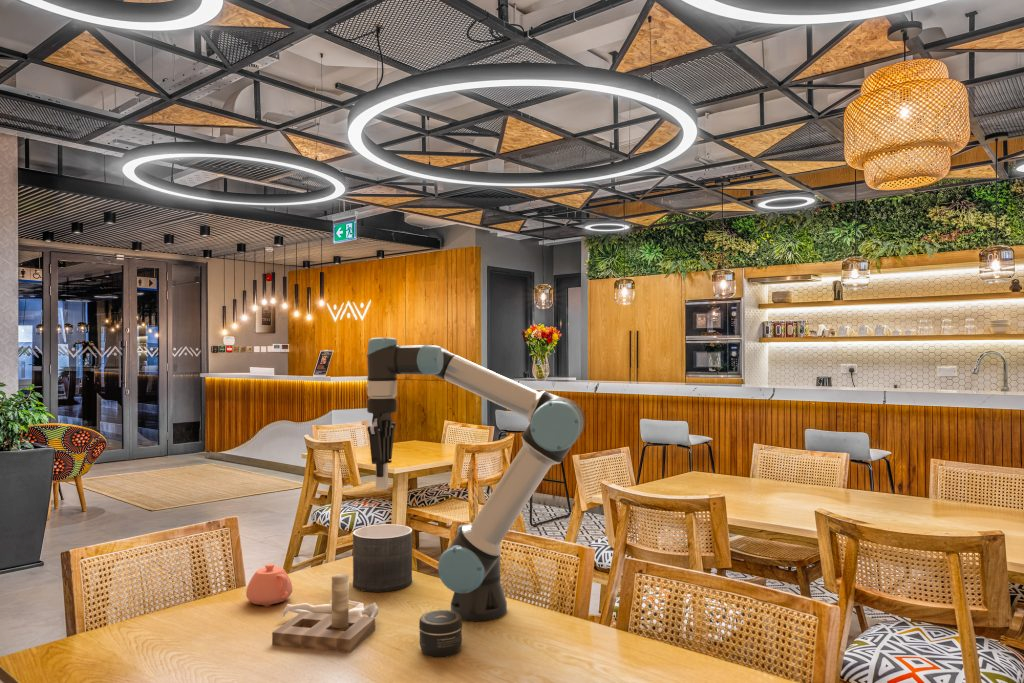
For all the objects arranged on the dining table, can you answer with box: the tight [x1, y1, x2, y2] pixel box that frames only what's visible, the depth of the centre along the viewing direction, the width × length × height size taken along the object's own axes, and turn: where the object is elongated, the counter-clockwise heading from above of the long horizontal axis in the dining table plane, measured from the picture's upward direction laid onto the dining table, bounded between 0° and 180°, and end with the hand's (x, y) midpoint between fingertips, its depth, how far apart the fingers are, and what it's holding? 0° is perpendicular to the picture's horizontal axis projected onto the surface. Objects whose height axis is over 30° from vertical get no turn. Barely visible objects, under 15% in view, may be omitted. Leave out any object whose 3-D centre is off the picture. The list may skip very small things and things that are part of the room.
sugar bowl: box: [245, 563, 293, 607], centre depth 195 cm, size 12×14×10 cm
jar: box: [418, 609, 463, 659], centre depth 162 cm, size 10×10×8 cm
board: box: [271, 612, 376, 653], centre depth 169 cm, size 20×14×3 cm
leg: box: [331, 573, 350, 631], centre depth 169 cm, size 4×4×15 cm
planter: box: [352, 523, 413, 593], centre depth 211 cm, size 18×18×16 cm
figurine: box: [282, 599, 379, 619], centre depth 180 cm, size 8×6×25 cm
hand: (381, 489), depth 179 cm, fingers closed
